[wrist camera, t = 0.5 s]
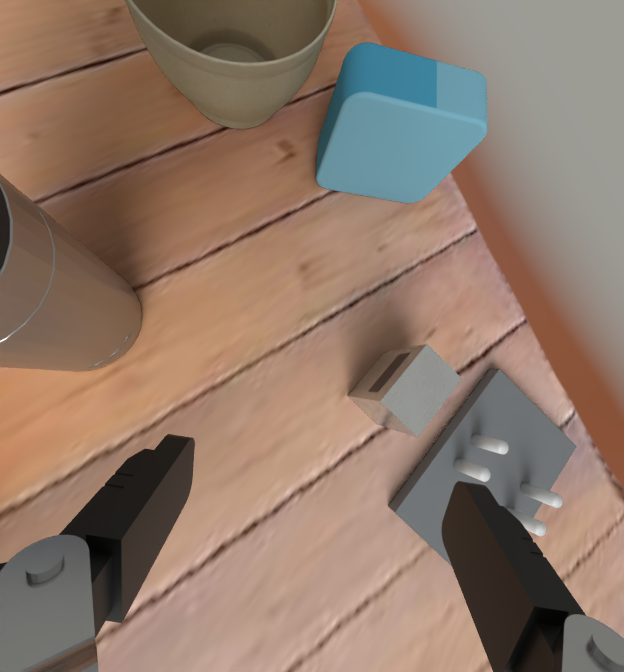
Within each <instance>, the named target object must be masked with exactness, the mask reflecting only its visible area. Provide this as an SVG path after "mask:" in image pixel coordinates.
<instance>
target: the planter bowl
mask: <svg viewBox="0 0 624 672" xmlns="http://www.w3.org/2000/svg"><path fill="white" fill-rule="evenodd" d="M125 2H126V4H127V5H128V8H129V11H130V13H131V16H132V18H133V21H134V23H135V25H136V28H137V30H138V32H139V34H140V36H141V38H142V40H143V42H144V44H145V46H146V47H147V49H148V51H149V53H150V54H151V56H152V58H153V59H154V61H155V62H156V64H157V65H158V66H159V68H160V69H161V71H162V72H163V73H164V75H165V76H166V77H167V78H168V79H169V81H170V82H171V83H172V84H173V85H174V86H175V87H176V88H177V89H178V90H179V91H180V92H181V93H182V94H183V95H184V96H185V97H186V98H188V99H189V100H190V101H191V102H192V103H193V104H194V105H195V106H196V108H197V109H198V110H199V111H200V112H201V113H202V114H203V115H205V116H206V117H207V118H208V119H210V120H212V121H214V122H215V123H217V124H220V125H222V126H225V127H229V128H236V129H246V128H252V127H255V126H258V125H260V124H262V123H264V122H265V121H267V120H268V119H269V118H270V117H271V116H272V115H273V114H274V113H275V112H276V111H278V110H279V109H280V108H282V107H283V106H284V105H285V104H287V103H288V102H289V101H290V100H291V99H292V98H293V97H294V96H295V94H296V93H297V92H298V91H299V89H300V88H301V87H302V85H303V84H304V83H305V81H306V79H307V78H308V76H309V75H310V73H311V71H312V69H313V67H314V65H315V63H316V61H317V58H318V56H319V53H320V51H321V48H322V45H323V42H324V39H325V36H326V34H327V33H328V31H329V28H330V26H331V23H332V20H333V17H334V14H335V10H336V5H337V0H125Z"/></svg>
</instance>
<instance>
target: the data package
mask: <svg viewBox="0 0 624 672" xmlns="http://www.w3.org/2000/svg"><path fill="white" fill-rule="evenodd" d="M487 128H488V127H487V83H486V79H485V77H484V76H483V75H482V74H481V73H479V72H476V71H472V70H469V69H465V68H461V67H458V66H454V65H450V64H447V63H443V62H439V61H436V60H432V59H428V58H425V57H421V56H417V55H414V54H410V53H406V52H403V51H399V50H395V49H392V48H388V47H384V46H381V45H377V44H374V43H361V44H358V45H356V46H354V47H353V48H352V49H351V50H350V51H349V52H348V53H347V54H346V56H345V58H344V61H343V64H342V67H341V71H340V74H339V77H338V80H337V83H336V86H335V90H334V93H333V96H332V99H331V102H330V105H329V108H328V112H327V115H326V118H325V121H324V124H323V127H322V130H321V134H320V137H319V140H318V153H317V170H316V181H317V183H318V184H319V185H320V186H321V187H323V188H325V189H329V190H335V191H340V192H346V193H352V194H357V195H363V196H368V197H374V198H380V199H385V200H391V201H397V202H402V203H414V202H418V201H420V200H422V199H424V198H425V197H426V196H427V195H428V194H429V193H430V192H431V191H432V190H433V189H434V188H435V187H436V186H437V185H438V184H439V183H440V182H441V181H442V180H443V179H444V178H445V177H446V176H447V175H448V174H449V173H450V172H451V171H452V170H453V169H454V168H455V167H456V166H457V165H458V164H459V163H460V162H461V161H462V160H463V159H464V158H465V157H466V156H467V155H468V154H469V153H470V152H471V151H472V150H473V149H474V148H475V147H476V146H477V145H478V144H479V143H480V142H481V141H482V140H483V138H484V137H485V135H486V133H487Z"/></svg>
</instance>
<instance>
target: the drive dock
mask: <svg viewBox="0 0 624 672" xmlns="http://www.w3.org/2000/svg"><path fill="white" fill-rule="evenodd" d="M575 448H576V445H575V444H574V443H573V442H572V441H571V440H570V439H569V438H568V437H567V436H566V435H565V434H564V433H563V432H562V431H561V430H560V429H559V428H558V427H557V426H556V425H555V424H554V423H553V422H552V421H551V420H550V419H549V418H548V417H547V416H546V415H545V414H544V413H543V412H542V411H541V410H540V409H539V408H538V407H537V406H536V405H535V404H534V403H533V402H532V401H531V400H530V399H529V398H528V397H527V396H526V395H525V394H524V393H523V392H522V391H521V390H520V389H519V388H518V387H517V386H516V385H515V384H514V383H513V382H512V381H511V380H510V379H509V378H508V377H507V376H506V375H505V374H504V373H503V372H502V371H501V370H500V369H489V370H488V372H487V373H486V374H485V376H484V377H483V378H482V380H481V381H480V383H479V384H478V385H477V387H476V388H475V389H474V391H473V392H472V393H471V395H470V396H469V397H468V399H467V400H466V402H465V403H464V404H463V406H462V407H461V408H460V410H459V411H458V412H457V414H456V415H455V416H454V418H453V419H452V421H451V422H450V423H449V425H448V426H447V427H446V429H445V430H444V431H443V433H442V434H441V435H440V437H439V438H438V439H437V441H436V442H435V444H434V445H433V446H432V448H431V449H430V450H429V452H428V453H427V454H426V456H425V457H424V458H423V460H422V461H421V463H420V464H419V465H418V467H417V468H416V469H415V471H414V472H413V473H412V475H411V476H410V477H409V479H408V480H407V482H406V483H405V484H404V486H403V487H402V488H401V490H400V491H399V492H398V494H397V495H396V496H395V498H394V499H393V501H392V502H391V503H390V505H389V506H388V507H389V508H391V509H392V510H393V511H394V512H395V513H396V514H397V515H398V516H399V517H400V518H401V519H402V520H403V521H404V522H405V523H406V524H408V525H409V526H410V527H411V528H412V529H413V530H414V531H415V532H416V533H417V534H418V535H419V536H420V537H421V538H422V539H423V540H424V541H426V542H427V543H428V544H429V545H430V546H431V547H432V548H433V549H434V550H435V551H436V552H437V553H438V554H439V555H440V556H441V557H443V558H444V559H445V560H446V561H447V562H448V563H449V564H450V565H451V562H450V560H449V557H448V554H447V552H446V549H445V547H444V544H443V540H442V531H441V529H442V521H443V518H444V515H445V512H446V509H447V506H448V503H449V500H450V497H451V494H452V491H453V488H454V485H455V483H456V482H458V481H462V482H468V483H475V484H481V485H485V486H486V487H487V488H488V489H489V490H490V492H491V493H492V495H493V496H494V498H495V499H496V501H497V502H498V504H499V505H500V506H504V507H505V508H506V509H507V510H508V511H509V512H510V513H512V514H513V515H514V516H515V517H516V518H517V519H518V520H519V521H520V522H521V523H522V524H523V526H524V527H525V529H527V530H529V531H531V532H532V533H534V534H536V535H538V536H543V535H544V534H545V532H546V526H545V524H544V523H543V522H541V521H539V520H537V519H535V518H533V517H534V516H535V514H536V512H537V511H538V509H539V507H540V506H541V504H542V502H543V503H545V504H548V505H550V506H553V507H555V508H559V507H561V505H562V502H563V500H562V497H561V496H560V495H559V494H556V493H554V492H551V491H550V489H551V488H552V486H553V484H554V483H555V481H556V479H557V478H558V476H559V474H560V473H561V471H562V469H563V468H564V466H565V464H566V463H567V461H568V460H569V458H570V456H571V455H572V453H573V451H574V450H575ZM451 566H452V565H451Z"/></svg>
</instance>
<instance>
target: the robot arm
mask: <svg viewBox="0 0 624 672" xmlns="http://www.w3.org/2000/svg"><path fill="white" fill-rule="evenodd" d="M141 319H142V312H141V306H140V302H139V300H138V297H137V295H136V293H135V292H134V290H133V289H132V288H131V286H130V285H129V284H128V283H127V282H126V281H125V280H124V279H123V278H121V277H120V276H119V275H118V274H117V273H116V272H114V271H113V270H112V269H111V268H110V267H109V266H108V265H107V264H105V263H104V262H103V261H102V260H101V259H100V258H98V257H97V256H96V255H95V254H94V253H93V252H91V251H90V250H89V249H88V248H87V247H86V246H84V245H83V244H82V243H81V242H80V241H79V240H77V239H76V238H75V237H74V236H73V235H71V234H70V233H69V232H68V231H67V230H66V229H64V228H63V227H62V226H61V225H60V224H59V223H57V222H56V221H55V220H54V219H53V218H52V217H50V216H49V215H48V214H47V213H46V212H45V211H43V210H42V209H41V208H40V207H39V206H38V205H36V204H35V203H34V202H33V201H32V200H31V199H29V198H28V197H27V196H26V195H24V194H23V193H22V192H21V191H19V190H18V189H17V188H16V187H15V186H14V185H12V184H11V183H10V182H9V181H8V180H7V179H5V178H4V177H3V176H2V175H1V174H0V367H8V368H25V369H43V370H59V371H91V370H94V369H98V368H102V367H104V366H107V365H109V364H111V363H113V362H115V361H116V360H117V359H119V358H120V357H121V356H123V355H124V354H125V353H126V352H127V351H128V350H129V349H130V347H131V346H132V345H133V343H134V341H135V340H136V338H137V336H138V333H139V330H140V327H141ZM194 447H195V441H194V438H190V437H184V436H177V435H171V434H168V435H166V436H165V437H164V439H163V440H162V441H161V442H160V444H159V445H158V446H157V447H156V449H155V450H150V449H144V450H142V451H140V452H138V453H137V454H135V455H133V456H132V457H130V458H128V459H127V460H126V461H125V462H124V464H123V465H122V466H121V467H120V468H119V469H118V470H117V471H116V473H115V475H113V476H112V477H111V478H110V479H109V480H108V481H107V482H106V483H105V486H104V487H102V488H101V489H100V490H99V491H98V492H97V493H96V494H95V496H94V497H93V498H92V499H91V500H90V501H89V502H88V503H87V504H86V505H85V507H84V508H83V509H82V510H81V511H80V512H79V513H78V514H77V515H76V517H75V518H74V519H73V520H72V521H71V522H70V523H69V524H68V525H67V526H66V528H65V529H64V530H63V531H62V532H61V533H60V534H59V535H57V536H52V537H48V538H45V539H42V540H39V541H37V542H35V543H33V544H31V545H29V546H28V547H26V548H24V549H23V550H21V551H20V552H18V553H17V554H16V555H15V556H14V557H12V558H11V559H10V560H9V561H8V562H6V563H1V564H0V672H98V659H97V648H96V642H95V638H96V636H97V635H98V633H99V631H100V629H101V628H102V626H103V624H104V622H105V621H112V622H119V623H122V622H123V620H124V618H125V616H126V614H127V613H128V611H129V609H130V607H131V605H132V603H133V601H134V599H135V598H136V596H137V594H138V592H139V590H140V588H141V586H142V584H143V582H144V581H145V579H146V577H147V575H148V573H149V571H150V569H151V567H152V566H153V564H154V562H155V560H156V558H157V556H158V554H159V552H160V550H161V549H162V547H163V545H164V543H165V541H166V539H167V537H168V535H169V534H170V532H171V530H172V528H173V526H174V524H175V522H176V520H177V518H178V517H179V515H180V513H181V511H182V509H183V507H184V505H185V503H186V501H187V499H188V496H189V493H190V490H191V485H192V477H193V462H194ZM441 531H442V540H443V544H444V547H445V549H446V552H447V554H448V557H449V560H450V562H451V565H452V567H453V570H454V572H455V575H456V577H457V580H458V583H459V585H460V588H461V590H462V593H463V595H464V598H465V600H466V603H467V606H468V608H469V611H470V613H471V616H472V618H473V621H474V623H475V626H476V629H477V631H478V634H479V636H480V639H481V641H482V644H483V647H484V649H485V652H486V654H487V657H488V659H489V662H490V664H491V667H492V670H493V672H624V639H623V638H622V637H621V636H620V635H619V634H617V633H616V632H615V631H614V630H612V629H611V628H609V627H608V626H606V625H605V624H603V623H601V622H599V621H598V620H595V619H593V618H591V617H588V616H586V615H585V613H584V612H583V610H582V609H581V608H580V606H579V605H578V603H577V602H576V600H575V599H574V598H573V596H572V595H571V593H570V592H569V590H568V589H567V587H566V586H565V585H564V583H563V582H562V580H561V579H560V577H559V576H558V575H557V573H556V572H555V570H554V569H553V567H552V566H551V565H550V563H549V562H548V560H547V559H546V558H545V557H543V553H542V552H541V550H540V549H539V547H538V546H537V544H536V543H534V542H533V539H532V537H531V536H530V534H529V533H528V532H527V530H526V529H525V527H524V526H523V524H522V523H521V522H520V521H519V520H518V519H517V518H516V517H515V516H514V515H513V514H512V513H510V512H509V511H508V510H507V509H506V508H505V507H504V506H500V505H499V504H498V502H497V501H496V499H495V498H494V496H493V495H492V493H491V492H490V490H489V489H488V488H487V487H486V486H485V485H481V484H475V483H468V482H462V481H458V482H456V483H455V485H454V488H453V491H452V494H451V497H450V500H449V503H448V506H447V509H446V512H445V515H444V518H443V521H442V529H441Z"/></svg>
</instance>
